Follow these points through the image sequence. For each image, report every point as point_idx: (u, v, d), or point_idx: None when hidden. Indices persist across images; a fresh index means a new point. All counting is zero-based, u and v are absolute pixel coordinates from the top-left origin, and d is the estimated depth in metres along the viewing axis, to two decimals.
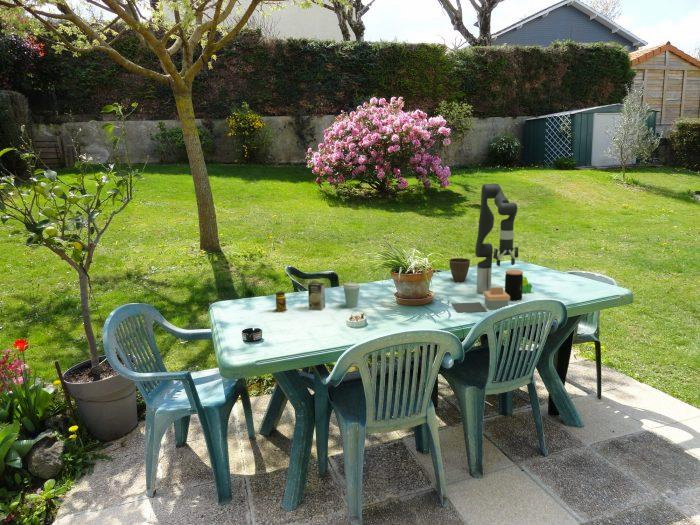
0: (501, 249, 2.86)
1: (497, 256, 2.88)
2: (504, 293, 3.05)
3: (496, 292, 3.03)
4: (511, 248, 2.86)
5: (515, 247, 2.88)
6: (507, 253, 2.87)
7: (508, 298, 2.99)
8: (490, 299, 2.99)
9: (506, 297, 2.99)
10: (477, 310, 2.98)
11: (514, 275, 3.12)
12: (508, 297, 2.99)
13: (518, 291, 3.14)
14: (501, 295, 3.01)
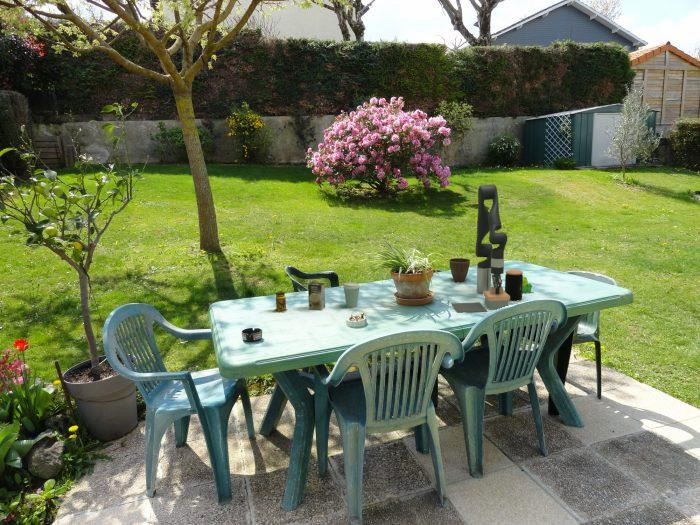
0: None
1: (496, 285, 3.01)
2: (504, 293, 3.05)
3: None
4: None
5: None
6: None
7: (508, 298, 2.99)
8: (490, 299, 2.99)
9: (506, 297, 2.99)
10: (477, 310, 2.98)
11: (514, 275, 3.12)
12: (508, 297, 2.99)
13: (518, 291, 3.14)
14: (501, 295, 3.01)
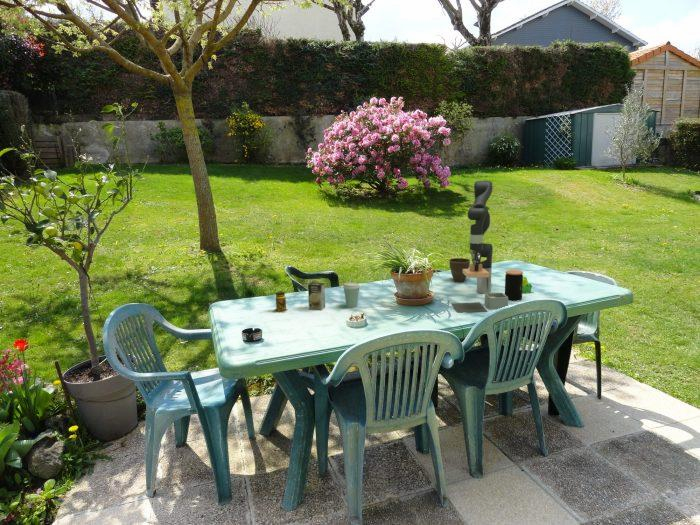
0: None
1: None
2: (483, 270, 3.00)
3: None
4: None
5: None
6: None
7: (487, 275, 2.95)
8: (469, 276, 2.94)
9: (485, 274, 2.94)
10: (477, 310, 2.98)
11: (514, 275, 3.12)
12: (487, 274, 2.94)
13: (518, 291, 3.14)
14: (480, 272, 2.96)
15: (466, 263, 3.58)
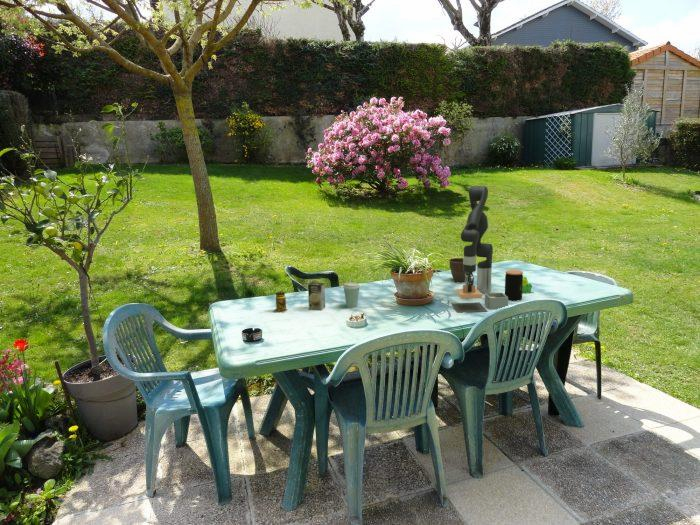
0: None
1: None
2: (477, 291, 3.03)
3: None
4: None
5: None
6: None
7: (480, 296, 2.97)
8: (462, 297, 2.97)
9: (478, 295, 2.97)
10: (477, 310, 2.98)
11: (514, 275, 3.12)
12: (480, 295, 2.97)
13: (518, 291, 3.14)
14: (473, 293, 2.99)
15: None
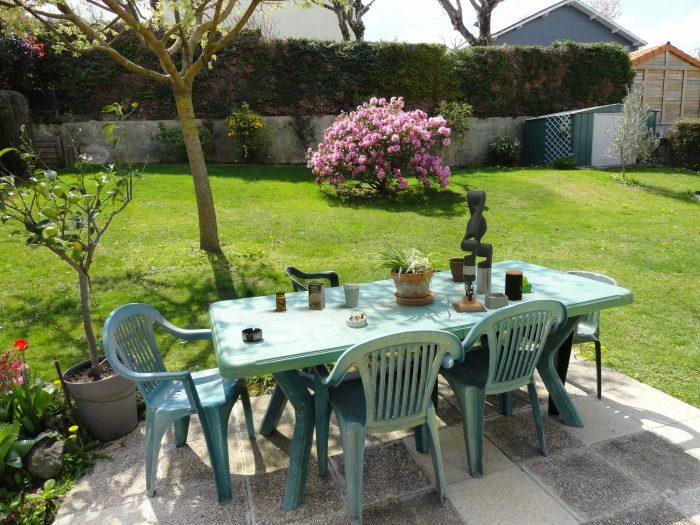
0: (472, 284, 2.99)
1: None
2: (476, 302, 3.05)
3: (468, 301, 3.03)
4: None
5: None
6: None
7: (480, 308, 2.99)
8: (462, 309, 2.99)
9: (478, 307, 2.99)
10: (477, 310, 2.98)
11: (514, 275, 3.12)
12: (480, 307, 2.99)
13: (518, 291, 3.14)
14: (473, 305, 3.01)
15: None
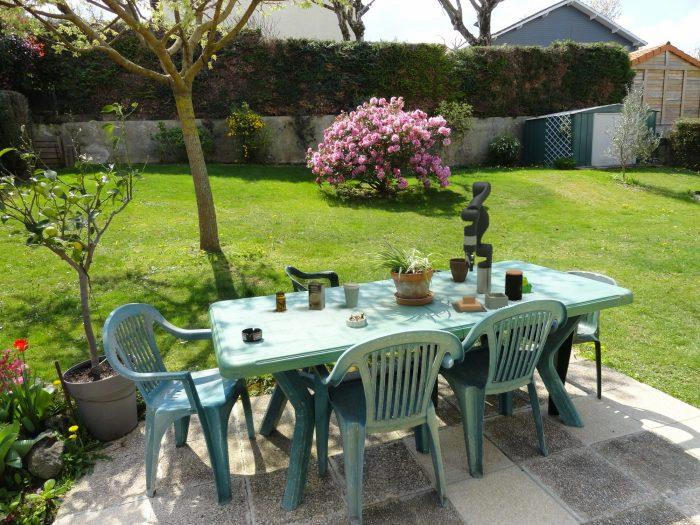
0: (472, 254, 2.95)
1: None
2: (476, 302, 3.05)
3: (468, 301, 3.03)
4: None
5: None
6: None
7: (480, 308, 2.99)
8: (462, 309, 2.99)
9: (478, 307, 2.99)
10: (477, 310, 2.98)
11: (514, 275, 3.12)
12: (480, 307, 2.99)
13: (518, 291, 3.14)
14: (473, 305, 3.01)
15: None
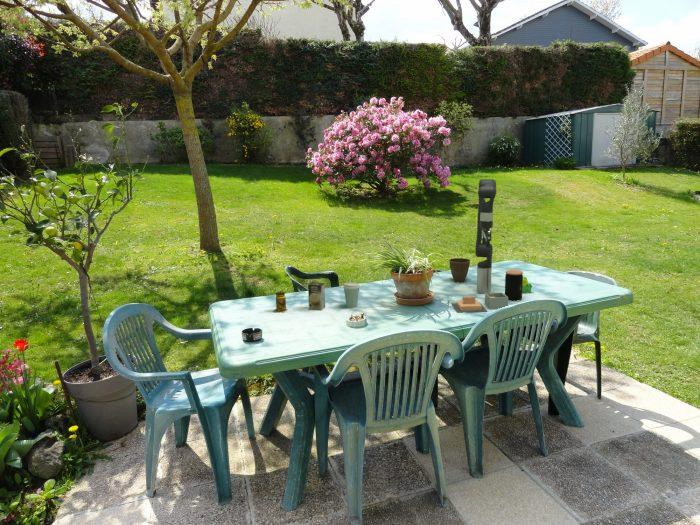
0: None
1: (486, 238, 3.01)
2: (476, 302, 3.05)
3: (468, 301, 3.03)
4: None
5: (483, 228, 3.10)
6: None
7: (480, 308, 2.99)
8: (462, 309, 2.99)
9: (478, 307, 2.99)
10: (477, 310, 2.98)
11: (514, 275, 3.12)
12: (480, 307, 2.99)
13: (518, 291, 3.14)
14: (473, 305, 3.01)
15: (466, 263, 3.58)
